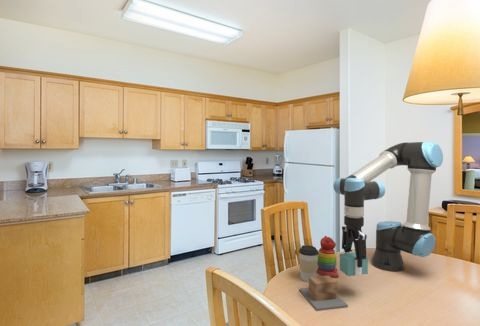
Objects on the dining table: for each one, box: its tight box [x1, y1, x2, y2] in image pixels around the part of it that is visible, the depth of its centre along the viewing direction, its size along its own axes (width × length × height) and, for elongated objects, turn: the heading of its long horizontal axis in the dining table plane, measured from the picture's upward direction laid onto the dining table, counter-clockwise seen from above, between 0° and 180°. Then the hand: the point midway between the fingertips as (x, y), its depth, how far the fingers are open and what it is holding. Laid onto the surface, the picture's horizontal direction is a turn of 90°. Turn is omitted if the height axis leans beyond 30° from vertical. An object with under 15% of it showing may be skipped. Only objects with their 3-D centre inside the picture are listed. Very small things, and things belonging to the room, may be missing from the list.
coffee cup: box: [298, 245, 319, 283], centre depth 135 cm, size 9×9×15 cm
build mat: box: [298, 287, 349, 312], centre depth 117 cm, size 13×16×1 cm
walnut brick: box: [308, 275, 338, 301], centre depth 117 cm, size 9×6×7 cm, turn 102°
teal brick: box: [339, 251, 369, 277], centre depth 119 cm, size 9×6×7 cm, turn 103°
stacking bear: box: [316, 235, 340, 279], centre depth 141 cm, size 11×10×18 cm
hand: (353, 270), depth 120 cm, fingers closed on teal brick, 6 cm apart
